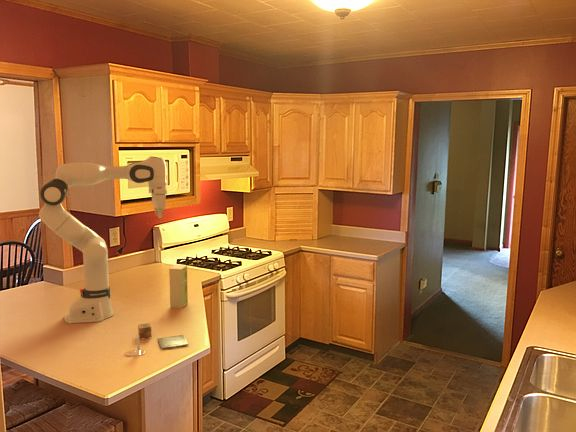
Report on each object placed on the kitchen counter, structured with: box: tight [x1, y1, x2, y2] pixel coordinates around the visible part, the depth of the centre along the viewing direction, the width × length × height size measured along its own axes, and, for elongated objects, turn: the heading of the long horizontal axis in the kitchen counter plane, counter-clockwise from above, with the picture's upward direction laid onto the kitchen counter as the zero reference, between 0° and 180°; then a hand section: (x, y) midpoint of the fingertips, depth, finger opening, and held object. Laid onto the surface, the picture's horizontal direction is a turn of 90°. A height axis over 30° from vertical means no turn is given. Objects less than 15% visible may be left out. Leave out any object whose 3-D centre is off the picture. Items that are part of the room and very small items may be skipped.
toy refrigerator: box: [168, 264, 189, 309], centre depth 257 cm, size 8×7×21 cm
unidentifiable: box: [124, 334, 146, 357], centre depth 199 cm, size 8×5×8 cm
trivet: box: [157, 334, 189, 350], centre depth 211 cm, size 11×11×1 cm
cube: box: [137, 322, 153, 340], centre depth 217 cm, size 5×5×5 cm
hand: (158, 216), depth 248 cm, fingers open, 8 cm apart
